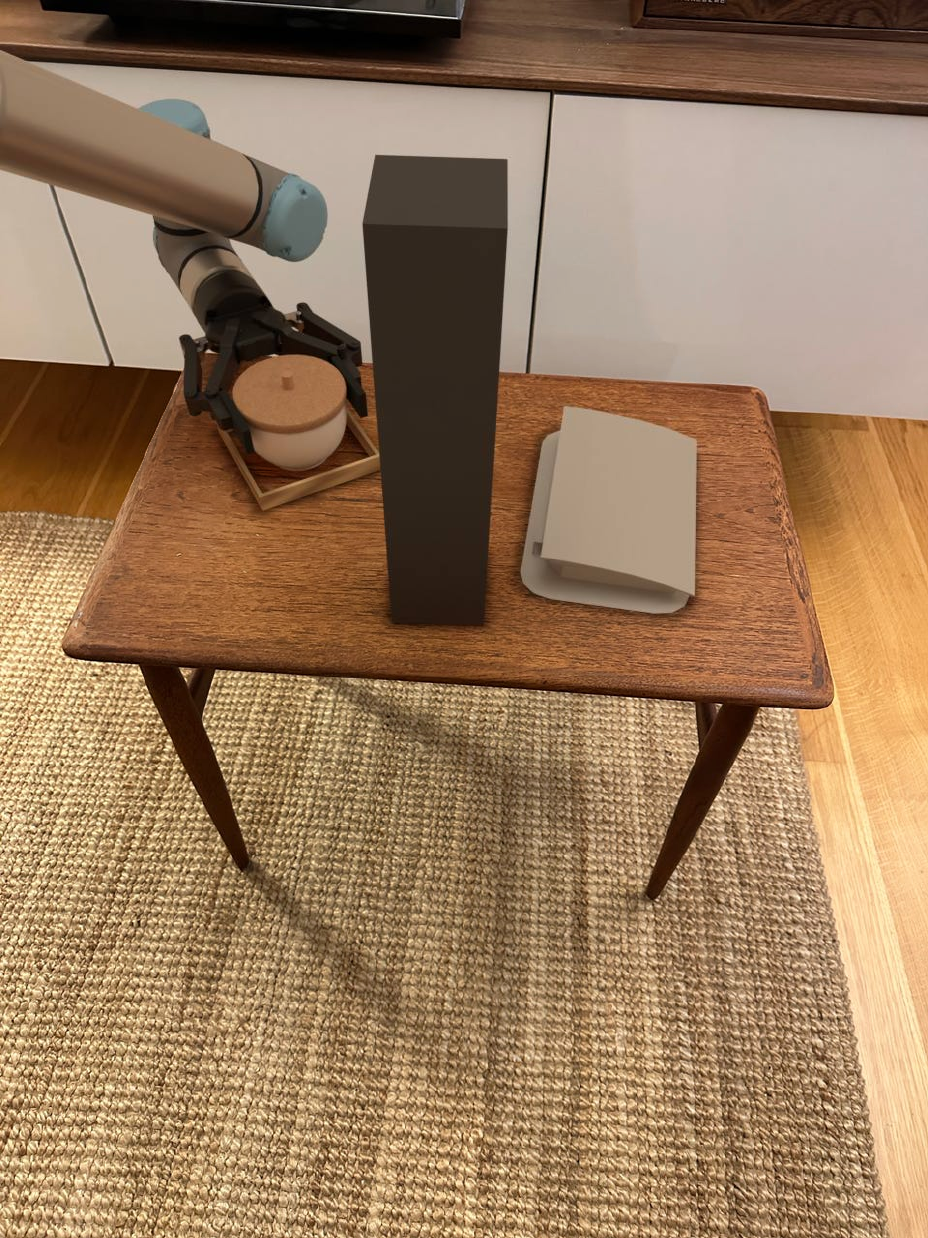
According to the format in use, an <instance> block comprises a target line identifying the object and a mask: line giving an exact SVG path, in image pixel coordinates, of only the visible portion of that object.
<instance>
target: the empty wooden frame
mask: <svg viewBox="0 0 928 1238" xmlns="http://www.w3.org/2000/svg"><path fill="white" fill-rule="evenodd" d="M215 423H216V426H217V430H218V434H219V436H220V437H221V439H222V441H223V443H224V444H225V446H226V448H227V450H228V451H229V454H230V456H231V457H232V459H233V461H234V462H235V464H236V466H237V468H238V470H239V472H240V473H241V475H242V477H243V478H244V480H245V483H246V484H247V486H248V487H249V490H250V491H251V493H252V495H253V497H254V498H255V500H256V502H257V503H258V505H259V507H260V509H261V511H267V510H269V509H271V508H275V507H278V506H280V505H283V504H286V503H290V502H292V501H295V500H298V499H301V498H304V497H307V496H309V495H312V494H315V493H318V492H321V491H324V490H327V489H329V488H332V487H336V486H338V485H341V484H344V483H347V482H349V481H353V480H355V479H359V478H362V477H365V476H367V475H370V474H373V473H376V472H379V471H380V457H379V449H377V448H376V446H375V445H374V443H373V442H372V440H371V439H370V438H369V436H368V434H367V433H366V432H365V430H364V429H363V427H362V426H361V425H360V423H359V422H358V421H357V419H356V417H355V415H354V414H353V413H352V411H350V409H349V407H347V421H346V426H347V427H348V428H349V429H350V431H351V433H352V434H353V435H354V437H355V438H356V440H357V441H358V442H359V444H360V445H361V446H362V448H363V450H364V451H365V453H366V454H367V455H368V457H365V458H363V459H359V460H356V461H354V462H350V463H348V464H345V465H342V466H339V467H336V468H333V469H331V470H327V471H324V472H321V473H318V474H316V475H313V476H310V477H307V478H304V479H301V480H297V481H295V482H292V483H289V484H287V485H284V486H281V487H277V488H274V489H271V490H268V491H265V492H262V491H261V488H260V487H259V486H258V484H257V482H256V480H255V478H254V476H253V475H252V473H251V471H250V469H249V468H248V466H247V464H246V462H245V460H244V459H243V457H242V456H241V454H240V452H239V451H238V449H237V447H236V445H235V442H233V440H232V438H231V436H230V434H229V433H231V432H234V431H233V429H229V430H226V431H223V430H221V429H220V428H219V426H218V424H217V422H216V421H215Z"/></svg>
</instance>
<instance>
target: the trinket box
mask: <svg viewBox="0 0 928 1238" xmlns="http://www.w3.org/2000/svg"><path fill="white" fill-rule="evenodd" d="M231 399H232V400H233V402H234V404H235V405H236V407H237V409H238V410H239V412H240V414H241V415H242V417H243V419H244V421H245V422H246V424H247V426H248V427H249V429H250V432H251V436H252V441H253V446H254V450H255V453H256V454H257V455H258V456H259V457H260V458H262V459H263V460H265V461H266V462H268V463H270V464H272V465H275V466H276V467H278V468H280V469H282V470H285V471H289V472H304V471H309V470H312V469H314V468H317V467H319V466H320V465H321V464H323V463H324V462H325V461H326V460H327V459H328V458H329V457H330V456H332V455H333V453H334V452H335V451H336V450H337V449H338V447H339V445H340V444H341V442H342V440H343V438H344V435H345V432H346V427H347V424H346V421H347V408H348V400H347V388H346V382H345V379H344V377H343V375H342V374H341V373H340V371H339V370H338V369H337V368H335V367H334V366H333V365H331V364H330V363H328V362H326V361H324V360H322V359H319V358H316V357H312V356H306V355H282V356H278V355H276V356H272V357H269V358H266V359H263V360H260V361H258V362H256V363H254V364H253V365H251V366H249V367H248V368H246V370H244V371H243V372H242V373H241V374H240V375H239V376H238V378H237V379H236V380H235V381H234V384H233V386H232V391H231Z"/></svg>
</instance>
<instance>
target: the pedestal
mask: <svg viewBox="0 0 928 1238" xmlns="http://www.w3.org/2000/svg"><path fill="white" fill-rule="evenodd" d="M508 161H509V160H508V158H488V157H487V158H485V157H457V156H455V157H454V156H430V155H429V156H427V155H426V156H425V155H395V154H393V155H392V154H375V155H374V159H373V163H372V169H371V170H372V171H371V175H370V181H369V186H368V192H367V196H366V202H365V208H364V212H363V217H362V222H361V223H362V225H361V226H362V235H363V236H362V237H363V251H364V252H363V253H364V266H365V278H366V292H367V293H366V294H367V305H368V306H367V307H368V320H369V332H370V333H369V335H370V346H371V347H370V348H371V360H372V361H371V362H372V373H373V374H372V375H373V387H374V398H375V399H374V401H375V414H376V427H377V428H376V429H377V442H378V452H379V457H380V470H379V471H380V483H381V493H382V494H381V497H382V511H383V523H384V524H383V525H384V535H385V536H384V537H385V538H384V539H385V550H386V551H385V552H386V561H387V562H386V564H387V578H388V592H389V605H390V619H391V623H393V624H417V625H418V624H419V625H444V626H445V625H446V626H447V625H448V626H474V627H475V626H476V627H484V626H485V620H486V619H485V616H486V615H485V614H486V601H487V600H486V599H487V585H488V568H489V567H488V566H489V551H490V536H491V535H490V533H491V519H492V516H491V515H492V503H493V502H492V500H493V485H494V484H493V483H494V466H495V449H496V434H497V416H498V400H499V399H498V398H499V384H500V383H499V381H500V365H501V348H502V335H503V334H502V333H503V331H502V330H503V318H504V317H503V316H504V315H503V314H504V297H505V281H506V268H507V267H506V266H507V265H506V264H507V250H508V249H507V248H508V233H509V232H508V230H509V193H508V192H509V189H508V188H509V177H508V176H509V175H508V173H509V172H508V171H509V168H508V167H509V165H508V164H509V163H508Z"/></svg>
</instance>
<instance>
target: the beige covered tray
mask: <svg viewBox="0 0 928 1238" xmlns="http://www.w3.org/2000/svg"><path fill="white" fill-rule="evenodd" d="M697 453H698V440H697V439H696V438H693V437H690V436H689V435H686V434H684V433H681V432H680V431H679V432H678V431H676V430H675V429H672V428H670V427H669V428H668V427H665V426H662V425H659V424H655V423H652V422H648V421H645V420H642V419H637V418H632V417H629V416H624V415H620V414H615V413H610V412H605V411H599V410H595V409H589V408H584V407H577V406H576V407H575V406H568V405H563V411H562V418H561V423H560V429H559V430H557V431H554V432H551V433H550V434H547V435H546V437H545V438H544V440H543V441H542V444H541V448H540V454H539V460H538V465H537V470H536V471H537V472H536V476H535V477H536V478H535V484H534V490H533V495H532V501H531V507H530V514H529V517H528V525H527V531H526V537H525V542H524V548H523V554H522V558H521V559H522V560H521V565H520V571H519V573H520V576H521V582H522V585H523V586H524V587H526V588H527V589H528V590H529V591H530V592H531V593H533V594H534V595H537V596H540V597H542V598H546V599H548V600H552V601H553V600H554V601H559V602H560V601H562V602H566V603H567V602H569V603H575V604H581V605H589V606H597V607H601V608H609V609H610V608H611V609H617V610H625V611H630V612H631V611H632V612H639V613H646V614H653V615H656V614H657V615H658V614H659V615H660V614H661V615H662V614H673V613H675V612H677V611H679V610H681V609H682V608H684V607H685V606H686V605H687V602H688V600H689V597H690V596H692V597H695V596H696V545H697V544H696V539H697V538H696V537H697V535H696V533H697V532H696V531H697V529H696V528H697V458H698V454H697Z"/></svg>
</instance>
